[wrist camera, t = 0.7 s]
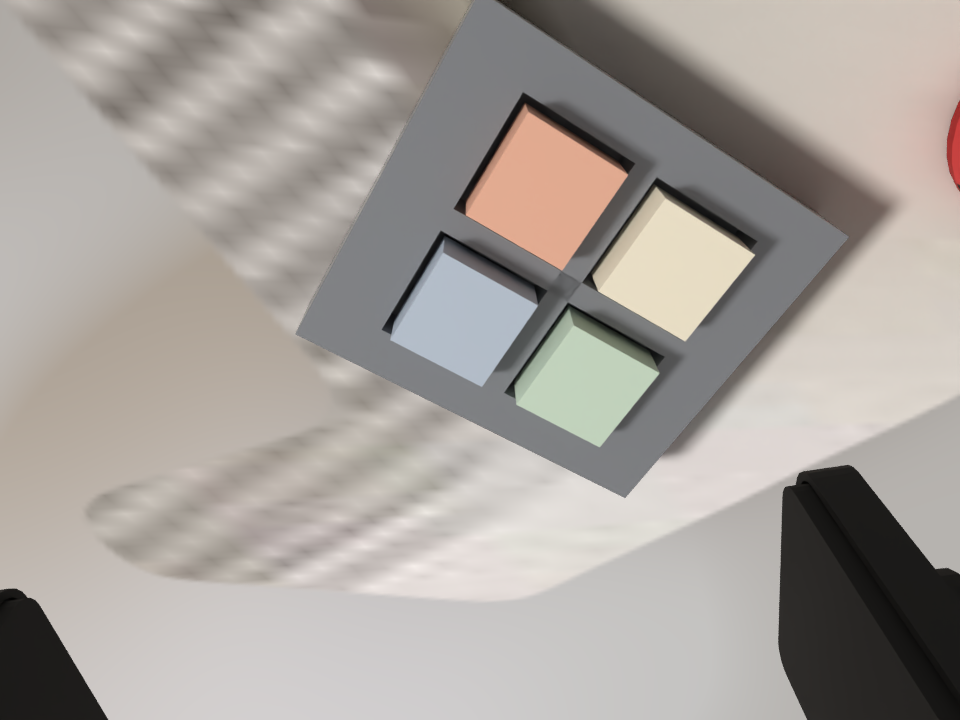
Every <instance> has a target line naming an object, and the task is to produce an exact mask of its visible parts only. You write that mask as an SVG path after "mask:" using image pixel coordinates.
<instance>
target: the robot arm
mask: <svg viewBox="0 0 960 720" xmlns="http://www.w3.org/2000/svg"><path fill="white" fill-rule="evenodd" d="M778 640H779V641H778V643H779V652H780V656H781V661H782V664H783V667H784V670H785V672H786V675H787V677H788V679H789V681H790V683H791V686H792V688H793V690H794V692H795V694H796V696H797V699H798V701H799V703H800V705H801V707H802V709H803V711H804V713H805V716H806V718H807V720H960V574H959V573H957V572H955V571H953V570H951V569H949V568H943V569H935V568H934V567H933V566H932V565H931V563H930V562H929V561H928V560H927V558H926V557H925V556H924V554H923V553H922V552H921V551H920V549H919V548H918V547H917V546H916V544H915V543H914V542H913V541H912V539H911V538H910V537H909V536H908V534H907V533H906V532H905V531H904V529H903V528H902V527H901V525H900V524H899V523H898V522H897V520H896V519H895V518H894V516H892V514H891V513H890V511H889V510H888V509H887V508H886V506H885V505H884V504H883V503H882V501H881V500H880V499H879V498H878V496H877V495H876V494H875V492H874V491H873V490H872V489H871V487H870V486H869V485H868V484H867V482H866V481H865V480H864V479H863V477H862V476H861V475H860V474H859V472H858V471H857V470H856V469H855V468H854V467H852V466H849V465H845V466H838V467H831V468H824V469H817V470H810V471H804V472H801V473H799V475H798V477H797V482H796V485H794V486H788V487H785V488H784V491H783V501H782V536H781V569H780V602H779V636H778ZM0 720H108V719H107V717H106V715H105V714H104V712H103V710H102V709H101V707H100V705H99V704H98V702H97V700H96V699H95V697H94V695H93V694H92V692H91V690H90V689H89V687H88V685H87V684H86V682H85V680H84V679H83V677H82V675H81V674H80V672H79V670H78V669H77V667H76V665H75V664H74V662H73V660H72V658H71V657H70V655H69V654H68V652H67V650H66V649H65V647H64V645H63V644H62V642H61V640H60V638H59V637H58V635H57V633H56V632H55V630H54V629H53V627H52V625H51V624H50V622H49V620H48V619H47V617H46V615H45V614H44V612H43V610H42V608H41V607H40V605H39V604H38V603H37V602H36V601H35V600H34V599H32V598H27V597H26V595H25V594H24V593H23V592H22V591H20V590H18V589H4V590H0Z"/></svg>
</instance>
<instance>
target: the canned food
mask: <svg viewBox="0 0 960 720" xmlns="http://www.w3.org/2000/svg"><path fill="white" fill-rule="evenodd" d="M947 160H948V166H949V171H950V174H951V176H952V178H953V180H954V183H955V185H956V186H957V188H958V190H959V191H960V101H959V103H958V105H957V108H956V110H955V113H954V115H953V118H952V120H951V124H950V129H949V133H948V138H947Z"/></svg>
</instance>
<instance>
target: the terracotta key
mask: <svg viewBox="0 0 960 720" xmlns="http://www.w3.org/2000/svg"><path fill="white" fill-rule="evenodd" d="M627 176H628V174H627V172H626V171H625V170H624V168H623V167H622V166H621V164H620V163H619V162H618V161H617V160H615V159H614V158H612V157H610V156H609V155H607V154H606V153H604V152H603V151H601V150H599V149H598V148H596V147H595V146H593V145H591V144H590V143H588V142H587V141H585V140H584V139H582V138H580V137H579V136H577V135H576V134H574V133H573V132H571V131H569V130H568V129H566V128H565V127H563V126H561V125H560V124H558V123H557V122H555V121H554V120H552V119H550V118H549V117H547V116H546V115H544V114H543V113H541V112H539V111H538V110H536V109H535V108H533V107H531V106H530V105H528V104H527V103H525V102H524V104H523V106H522V107H521V109H520V111H519V112H518V114H517V116H516V117H515V119H514V121H513V122H512V124H511V126H510V127H509V129H508V131H507V132H506V134H505V136H504V137H503V139H502V141H501V142H500V144H499V146H498V147H497V149H496V151H495V152H494V154H493V156H492V157H491V159H490V161H489V162H488V164H487V166H486V167H485V169H484V171H483V172H482V174H481V176H480V177H479V179H478V181H477V182H476V184H475V186H474V187H473V189H472V191H471V192H470V194H469V196H468V197H467V199H466V216H468V217H470V218H471V219H473V220H475V221H477V222H478V223H480V224H482V225H484V226H485V227H487V228H489V229H491V230H492V231H494V232H496V233H498V234H499V235H501V236H503V237H504V238H506V239H508V240H510V241H511V242H513V243H515V244H517V245H518V246H520V247H522V248H524V249H525V250H527V251H529V252H531V253H532V254H534V255H536V256H537V257H539V258H541V259H543V260H544V261H546V262H548V263H550V264H551V265H553V266H555V267H557V268H558V269H560V270H563V269H564V267H565V266H566V264H567V263H568V262H569V260H570V259H571V257H572V256H573V254H574V253H575V251H576V250H577V249H578V247H579V246H580V244H581V243H582V241H583V240H584V238H585V237H586V236H587V234H588V233H589V231H590V230H591V228H592V227H593V225H594V224H595V222H596V221H597V220H598V218H599V217H600V215H601V214H602V212H603V211H604V209H605V208H606V207H607V205H608V204H609V202H610V201H611V199H612V198H613V196H614V195H615V193H616V192H617V191H618V189H619V188H620V186H621V185H622V183H623V182H624V180H625V179H626V178H627Z"/></svg>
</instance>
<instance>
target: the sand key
mask: <svg viewBox="0 0 960 720" xmlns="http://www.w3.org/2000/svg"><path fill="white" fill-rule="evenodd" d="M754 256H755V254H754V253H753V252H752V251H751V250H750V249H749V248H748V247H747V246H746V245H745V244H744V243H743V242H742V241H741V240H740V239H739V238H738V237H737V236H735V235H733V234H732V233H730V232H729V231H727V230H726V229H724V228H722V227H721V226H719V225H718V224H716V223H715V222H713V221H711V220H710V219H708V218H707V217H705V216H704V215H702V214H700V213H699V212H697V211H696V210H694V209H692V208H691V207H689V206H688V205H686V204H685V203H683V202H681V201H680V200H678V199H677V198H675V197H674V196H672V195H670V194H669V193H667V192H666V191H664V190H662V189H661V188H659V187H658V186H656V185H655V184H654V185H653V186H652V188H651V189H650V190H649V192H648V193H647V195H646V196H645V197H644V199H643V200H642V202H641V203H640V204H639V206H638V207H637V209H636V210H635V211H634V213H633V214H632V216H631V217H630V218H629V220H628V221H627V223H626V224H625V226H624V227H623V228H622V230H621V231H620V233H619V234H618V235H617V237H616V238H615V240H614V241H613V242H612V244H611V245H610V247H609V248H608V249H607V251H606V252H605V254H604V255H603V257H602V258H601V259H600V261H599V262H598V264H597V265H596V266H595V268H594V269H593V271H592V272H591V274H592V276H593V279H594V282H595V284H596V287H597V289H598V292H600V293H602V294H603V295H605V296H607V297H609V298H610V299H612V300H614V301H616V302H617V303H619V304H621V305H623V306H624V307H626V308H628V309H630V310H631V311H633V312H635V313H636V314H638V315H640V316H642V317H643V318H645V319H647V320H649V321H650V322H652V323H654V324H656V325H657V326H659V327H661V328H663V329H664V330H666V331H668V332H669V333H671V334H673V335H675V336H676V337H678V338H680V339H682V340H683V341H686V340H687V339H688V338H689V336H690V335H691V334H692V333H693V331H694V330H695V329H696V328H697V326H698V325H699V324H700V323H701V321H702V320H703V319H704V318H705V317H706V315H707V314H708V313H709V312H710V310H711V309H712V308H713V307H714V305H715V304H716V303H717V302H718V300H719V299H720V298H721V297H722V295H723V294H724V293H725V292H726V291H727V289H728V288H729V287H730V286H731V284H732V283H733V282H734V281H735V279H736V278H737V277H738V276H739V274H740V273H741V272H742V271H743V269H744V268H745V267H746V266H747V265H748V263H749V262H750V261H751V260H752V258H753V257H754Z"/></svg>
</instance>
